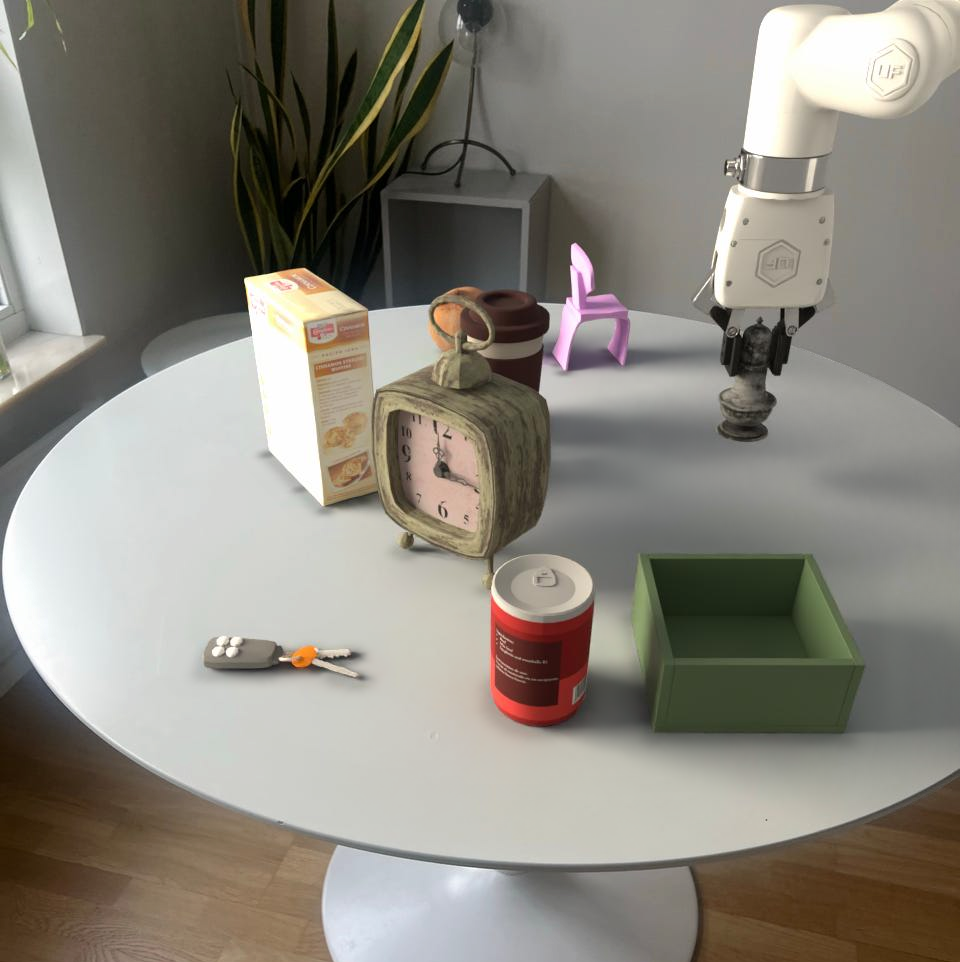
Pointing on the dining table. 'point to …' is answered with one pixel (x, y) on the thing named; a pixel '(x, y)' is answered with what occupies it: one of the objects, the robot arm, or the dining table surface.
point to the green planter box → (742, 644)
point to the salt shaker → (749, 389)
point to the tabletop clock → (461, 450)
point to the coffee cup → (510, 334)
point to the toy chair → (589, 311)
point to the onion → (451, 316)
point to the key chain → (265, 654)
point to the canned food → (540, 637)
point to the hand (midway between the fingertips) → (752, 369)
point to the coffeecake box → (315, 381)
